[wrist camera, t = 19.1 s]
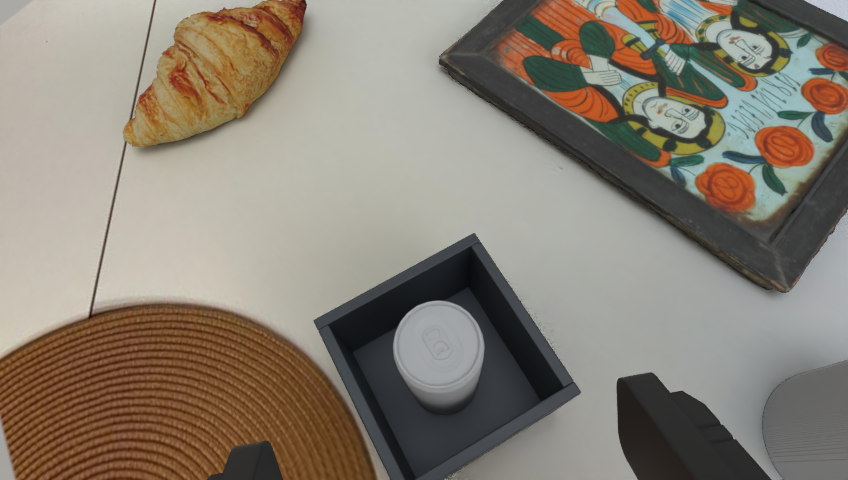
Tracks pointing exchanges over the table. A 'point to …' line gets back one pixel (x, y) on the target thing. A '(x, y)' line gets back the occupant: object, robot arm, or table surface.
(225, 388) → the table surface
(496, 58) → the painting
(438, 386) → the beverage can
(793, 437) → the cup
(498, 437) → the bin
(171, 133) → the croissant
